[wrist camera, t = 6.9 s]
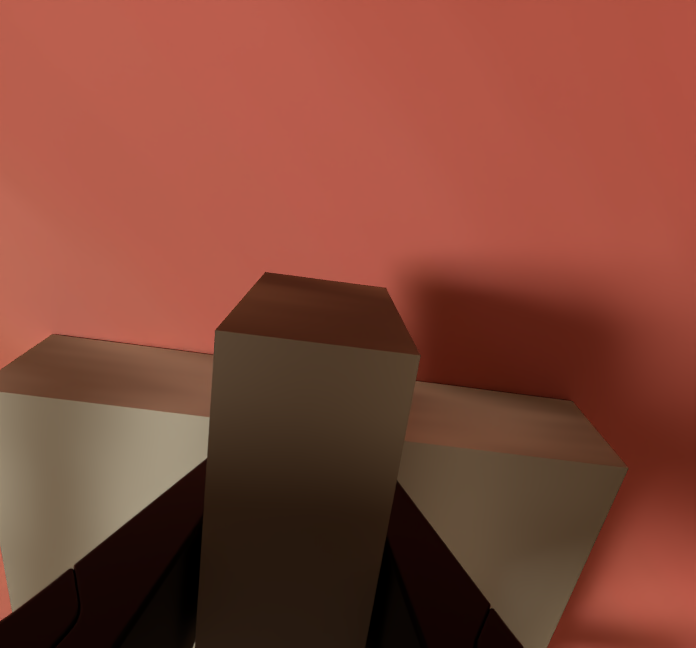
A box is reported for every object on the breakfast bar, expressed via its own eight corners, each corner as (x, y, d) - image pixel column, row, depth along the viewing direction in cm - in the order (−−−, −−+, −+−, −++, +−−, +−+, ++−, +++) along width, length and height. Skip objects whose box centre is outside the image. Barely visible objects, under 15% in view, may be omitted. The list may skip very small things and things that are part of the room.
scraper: (1, 746, 13) (-147, 992, 9) (-42, 231, 9) (-329, 263, 5) (511, 780, 13) (582, 1019, 10) (661, 324, 10) (873, 410, 6)
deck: (79, 608, 17) (27, 699, 14) (52, 334, 13) (-28, 388, 10) (479, 647, 18) (504, 741, 15) (572, 401, 14) (628, 467, 11)
